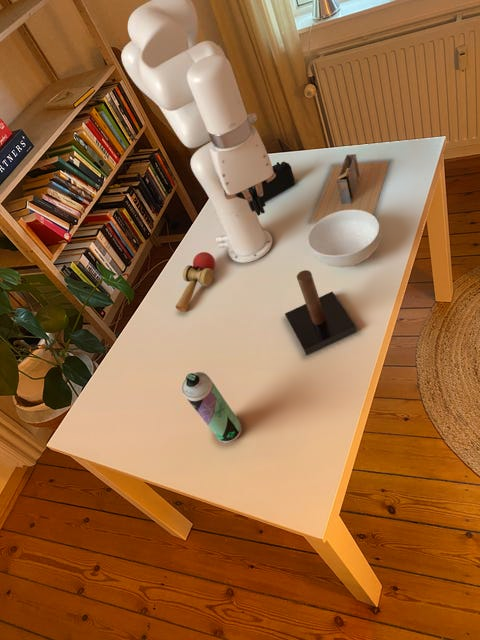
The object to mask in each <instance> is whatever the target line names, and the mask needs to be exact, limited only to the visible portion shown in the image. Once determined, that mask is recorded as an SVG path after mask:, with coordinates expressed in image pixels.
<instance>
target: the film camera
mask: <svg viewBox="0 0 480 640" xmlns="http://www.w3.org/2000/svg"><path fill="white" fill-rule="evenodd" d="M272 168H273V171H274V173H275V174H276V177H275V178H274V179H273V180H271V181H270V182H268V183H267V185H266V187H265V189H264V191H263V195H262V196H263V199H264V202H265V203H266V202H268V201H270V200H271V199H274V198H275V197H277V196H279V195H281V194H282V193H284V192H285V191H287V190H289V189H290V188H292V187H293V186H294V185H295V183H296V182H295V181H296V180H295V179H296V178H295V176H294V173H293V169H292V166H291V165H290V163H288V162H286V161H282V162H279V161H277V162H276V164H274V165H272ZM247 190H248V191H249V192H251V193H252V194H253V190H254V188H253V186H252V187H250V188H247Z"/></svg>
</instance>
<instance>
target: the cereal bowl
mask: <svg viewBox="0 0 480 640" xmlns="http://www.w3.org/2000/svg"><path fill="white" fill-rule="evenodd" d="M380 241H381V226H380V222H379V220H378V218H377V217H376V216H375V215H372V214H370V213H369V212H366V211H362V210H343V211H339V212H335V213H332V214H330V215H328V216H326V217H324V218H322V219H321V220H320V221H316V223H315V224H314V225H313V226H312V227H311V229H310V230H309V233H308V236H307V243H308V246H309V249H310V251H311V253H312V255H313V256H314V258H315V259H316V260H317V261H319V262H320V263H321V264H324V265H326V266H330V267H333V268H347V267H352V266H355V265H358V264H360V263H362V262H364V261H366V260H367V259H368V258H369V257H371V256H372V255H373V254H374V252H376V250H377V248H378V246H379V245H380Z"/></svg>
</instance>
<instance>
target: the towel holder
mask: <svg viewBox="0 0 480 640" xmlns="http://www.w3.org/2000/svg"><path fill="white" fill-rule="evenodd" d="M296 279H297V283H298V285H299V288H300V291H301V294H302V297H303V300H304V304H302V305H300V306H298V307H296V308H294V309H292V310H290V311H288V312H285V313H284V317H285V318H286V320H287V322H288V324H289V326H290V328H291V330H292V332H293V334H294V335H295V337H296V339H297V341H298V343H299V344H300V347H301V348H302V350H303V352H304V355H305V356H309V355H311V354H312V353H314V352H317V351H319V350H321V349H323V348H325V347H327V346H330V345H332V344H334V343H337V342H338V341H340V340H342V339H344V338H347V337H349V336H351V335H353V334H355V333H357V332H358V329H357V326H356V324H355V323H354V321H353V320H352V318H351V317H350V315H349V314H348V312H347V311H346V309H345V308H344V306H343V305H342V303H341V302H340V300H339V299H338V297H337V296H336V294H335V293H334V292H333V291H330V292H328V293H326V294H324V295H321V296H319V293H318V290H317V286H316V284H315V281H314V278H313V275H312V272H311V270H307V269H306V270H301V271H299V272H298V273H297V274H296Z"/></svg>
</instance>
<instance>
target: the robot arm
mask: <svg viewBox="0 0 480 640" xmlns="http://www.w3.org/2000/svg"><path fill="white" fill-rule="evenodd" d="M198 32H199V18H198V13H197V10H196V7H195V5H194V3H193V2H192V0H149V1H147V2H146V3H144V4H142V5H140V6H138V7H137V8H136V9H135V10H134V11H133V12H131V14H130V16H129V18H128V21H127V33H128V36H129V39H130V41H129V42H128V43H127V44H126V45H125V46H124V47H123V49H122V50H121V56H120V58H121V63H122V65H123V67H124V69H125V72H126V73H127V75H128V76H129V78H130V79H131V81H132V82H133V83H134V84H135V86H136V87H137V88H138V89H139V90H140V92H142V93H143V94H144V95H145V96H146V97H148V98H149V99H150V100H151V101H152V102H154V104H156V106H158V108H159V109H160V110H161V112H162V113H163V115H164V117H165V119H166V120H167V122H168V124H169V125H170V127H171V128H172V130H173V131H174V133H175V135H176V136H177V138H178V139H179V141H180V142H181V143H182V144H183V145H184V146H185V147H187V148H188V149H196V148H198V147H200V148H198V149H197V150H196V151H194V153H193V155H192V156H191V158H190V169H191V171H192V173H193V175H194V176H195V178H196V179H197V181H198V182H199V184H200V185H201V187H202V189H203V190H204V191H205V193H206V195H207V197H208V199H209V201H210V204H211V205H212V207H213V210H214V212H215V213H216V216H217V218H218V220H219V222H220V225H221V227H222V229H223V231H224V233H225V235H216V237H215V240H216V243H218V248H219V249H221V248H222V249H223V248H227V253H228V255H229V257H230V259H231V260H233V261H234V262H236V263H243V264H245V263H251V262H254V261H256V260H259V259H261V258H262V257H264V256H265V255H266V254H267V253H269V251H270V249H271V248H272V247H273V246H272V245H273V236H272V235H271V233H270V232H269V231H268V230H267V229H264V228H263V227H262V224H261V221H260V219H259V217H260V216H261V214H265V213H266V212H265V211H266V210H265V209H264V207H266V202H264V199H263V196H262V195H263V191H264V189H265V187H266V185H267V183H268V182H270V181H271V180H273V179H274V178H275V177H276V174H275V173H274V171H273V168H272V166H273V165H272V162H271V159H270V157H269V154H268V151H267V150H266V149H267V148H266V147H265V143H264V142H263V140H262V138H261V136H260V134H259V132H258V130H257V128H256V127H255V126H254V125H253V124H254V123H255V122H256V121H258V117H257V114H256V113H255V112H253V113H247V109H246V107H245V104H244V101H243V98H242V95H241V92H240V89H239V85H238V83H237V79H236V76H235V72H234V70H233V67H232V64H231V62H230V60H228V58H227V57H226V54H225V52H224V50H223V48H221V47H222V46H220V45H218V44H217V43H216V42H214V41H213V40H203V41H201V42H199V43H198ZM204 144H205V145H204ZM252 186H253V188H254V190H253V194H252V193H251V192H249V191H248V189H247V188H250V187H252Z"/></svg>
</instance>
